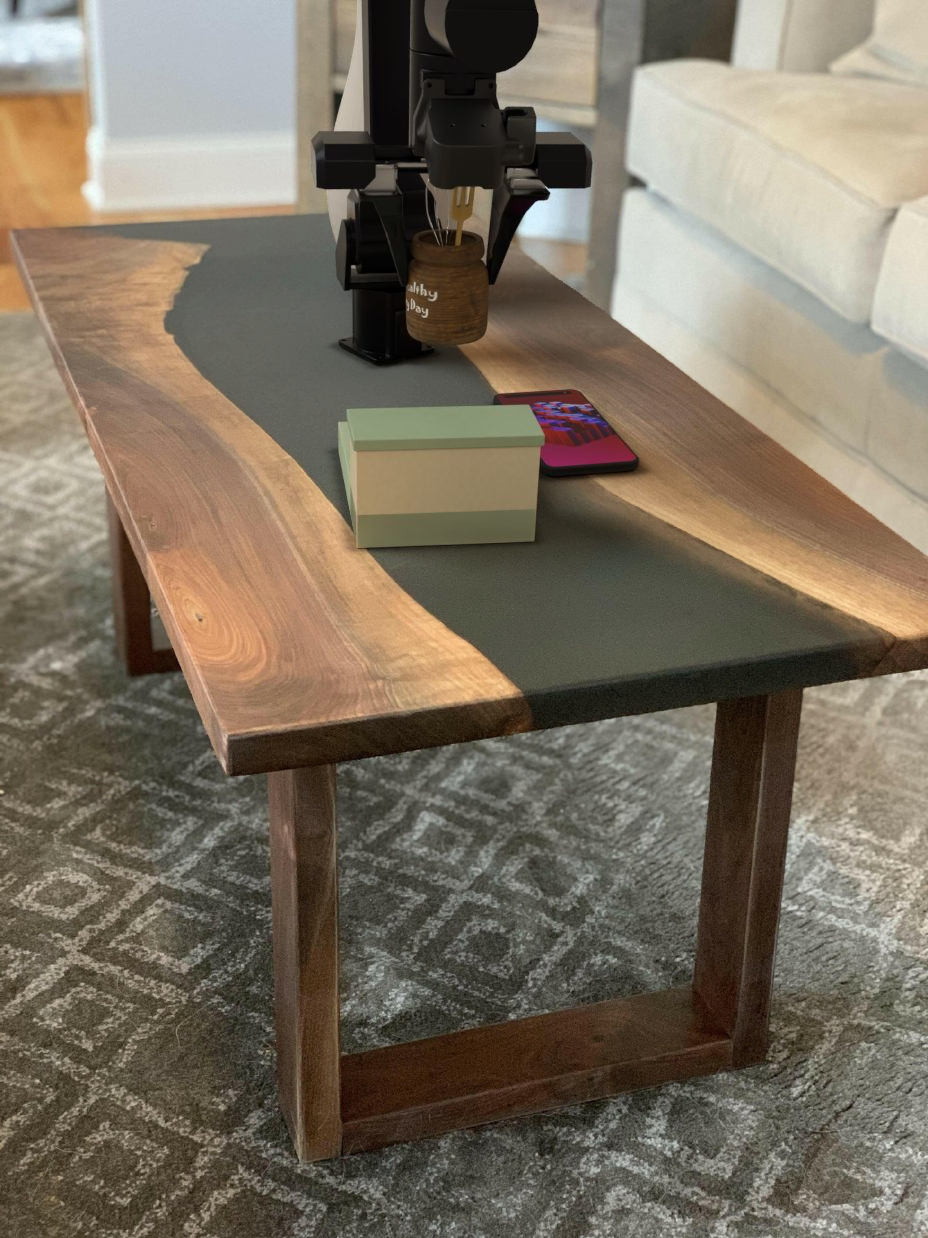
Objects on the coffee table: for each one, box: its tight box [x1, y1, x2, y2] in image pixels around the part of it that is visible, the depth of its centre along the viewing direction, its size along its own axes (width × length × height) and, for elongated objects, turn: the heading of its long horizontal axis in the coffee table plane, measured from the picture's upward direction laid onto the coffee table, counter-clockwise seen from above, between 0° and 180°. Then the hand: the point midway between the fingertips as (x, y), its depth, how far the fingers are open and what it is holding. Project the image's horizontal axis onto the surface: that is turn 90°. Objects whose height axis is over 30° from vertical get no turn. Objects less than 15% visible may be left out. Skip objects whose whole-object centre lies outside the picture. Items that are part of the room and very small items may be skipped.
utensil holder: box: [406, 180, 490, 347], centre depth 99 cm, size 6×6×12 cm
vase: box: [326, 0, 469, 268], centre depth 135 cm, size 14×14×30 cm
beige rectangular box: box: [337, 405, 545, 549], centre depth 99 cm, size 16×12×8 cm
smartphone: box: [492, 388, 640, 477], centre depth 111 cm, size 8×1×15 cm
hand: (447, 284), depth 100 cm, fingers closed on utensil holder, 6 cm apart
